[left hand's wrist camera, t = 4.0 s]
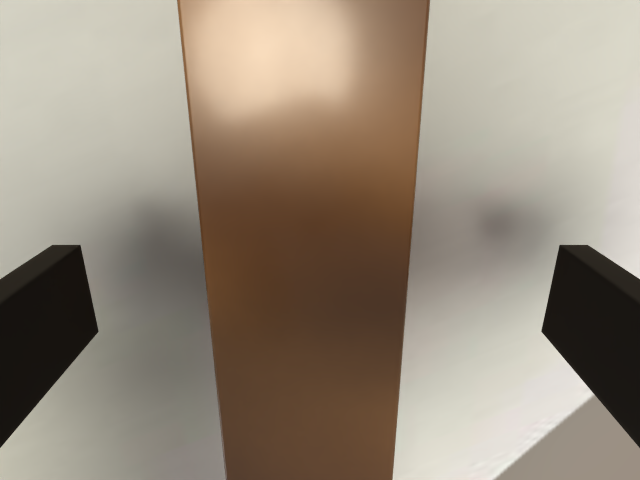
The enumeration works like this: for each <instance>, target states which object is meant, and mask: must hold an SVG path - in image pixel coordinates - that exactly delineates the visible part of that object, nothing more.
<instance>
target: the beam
mask: <svg viewBox="0 0 640 480" xmlns="http://www.w3.org/2000/svg"><path fill="white" fill-rule="evenodd" d="M177 4H178V14H179V24H180V34H181V44H182V53H183V63H184V73H185V83H186V93H187V102H188V112H189V122H190V132H191V142H192V151H193V161H194V171H195V181H196V191H197V201H198V210H199V220H200V230H201V240H202V250H203V259H204V269H205V279H206V289H207V299H208V308H209V318H210V328H211V338H212V348H213V357H214V367H215V377H216V387H217V397H218V406H219V416H220V426H221V436H222V446H223V455H224V465H225V475H226V480H392V479H393V466H394V453H395V440H396V428H397V415H398V402H399V389H400V377H401V364H402V351H403V338H404V326H405V313H406V300H407V287H408V275H409V262H410V249H411V236H412V224H413V211H414V198H415V185H416V173H417V160H418V147H419V135H420V122H421V109H422V96H423V84H424V71H425V58H426V45H427V33H428V20H429V7H430V0H177Z"/></svg>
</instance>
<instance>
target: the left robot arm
mask: <svg viewBox="0 0 640 480" xmlns="http://www.w3.org/2000/svg"><path fill="white" fill-rule="evenodd" d="M97 333H98V327H97V322H96V317H95V313H94V308H93V303H92V298H91V294H90V289H89V284H88V279H87V274H86V270H85V265H84V260H83V255H82V251H81V246H80V245H52V246H50V247H49V248H47V249H46V250H44V251H43V252H41V253H40V254H38V255H36V256H35V257H33V258H32V259H30V260H29V261H27V262H26V263H24V264H23V265H21V266H20V267H18V268H17V269H15V270H14V271H12V272H11V273H9V274H8V275H6V276H5V277H3V278H1V279H0V448H1V446H2V445H3V444H4V443H5V442H6V440H7V439H8V438H9V437H10V436H11V435H12V433H13V432H14V431H15V430H16V429H17V427H18V426H19V425H20V424H21V423H22V421H23V420H24V419H25V418H26V417H27V416H28V414H29V413H30V412H31V411H32V410H33V408H34V407H35V406H36V405H37V404H38V403H39V401H40V400H41V399H42V398H43V397H44V395H45V394H46V393H47V392H48V391H49V390H50V388H51V387H52V386H53V385H54V384H55V382H56V381H57V380H58V379H59V378H60V376H61V375H62V374H63V373H64V372H65V371H66V369H67V368H68V367H69V366H70V365H71V363H72V362H73V361H74V360H75V359H76V358H77V356H78V355H79V354H80V353H81V352H82V350H83V349H84V348H85V347H86V346H87V345H88V343H89V342H90V341H91V340H92V339H93V337H94V336H95V335H96V334H97ZM542 333H543V334H544V335H545V336H546V337H547V339H548V340H549V341H550V342H551V343H552V345H553V346H554V347H555V348H556V349H557V350H558V352H559V353H560V354H561V355H562V356H563V358H564V359H565V360H566V361H567V362H568V363H569V365H570V366H571V367H572V368H573V369H574V371H575V372H576V373H577V374H578V375H579V376H580V378H581V379H582V380H583V381H584V382H585V384H586V385H587V386H588V387H589V388H590V390H591V391H592V392H593V393H594V394H595V395H596V397H597V398H598V399H599V400H600V401H601V402H602V404H603V405H604V406H605V407H606V408H607V410H608V411H609V412H610V413H611V414H612V416H613V417H614V418H615V419H616V420H617V421H618V423H619V424H620V425H621V426H622V427H623V429H624V430H625V431H626V432H627V433H628V434H629V436H630V437H631V438H632V439H633V440H634V442H635V443H636V444H637V445H638V446H639V448H640V279H639V278H637V277H635V276H634V275H632V274H631V273H629V272H628V271H626V270H625V269H623V268H622V267H620V266H619V265H617V264H616V263H614V262H613V261H611V260H610V259H608V258H607V257H605V256H604V255H602V254H600V253H599V252H597V251H596V250H594V249H593V248H591V247H590V246H588V245H560V246H559V251H558V255H557V260H556V265H555V270H554V274H553V279H552V284H551V289H550V294H549V298H548V303H547V308H546V313H545V317H544V322H543V327H542Z"/></svg>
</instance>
